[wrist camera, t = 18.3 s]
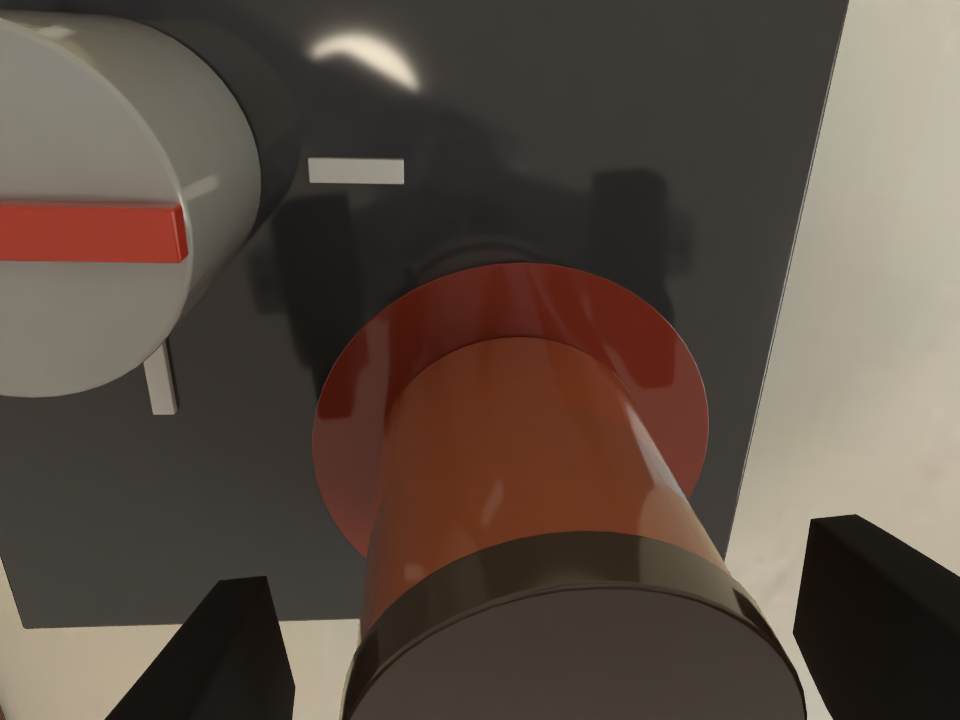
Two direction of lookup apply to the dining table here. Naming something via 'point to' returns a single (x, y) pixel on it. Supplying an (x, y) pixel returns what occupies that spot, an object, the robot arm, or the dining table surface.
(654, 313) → the disc
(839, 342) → the dining table surface
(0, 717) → the spice shelf
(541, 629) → the jar
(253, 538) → the hob
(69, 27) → the hob knob
